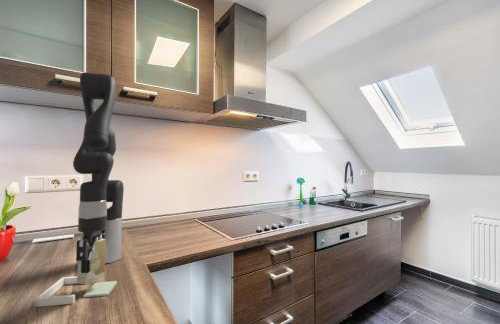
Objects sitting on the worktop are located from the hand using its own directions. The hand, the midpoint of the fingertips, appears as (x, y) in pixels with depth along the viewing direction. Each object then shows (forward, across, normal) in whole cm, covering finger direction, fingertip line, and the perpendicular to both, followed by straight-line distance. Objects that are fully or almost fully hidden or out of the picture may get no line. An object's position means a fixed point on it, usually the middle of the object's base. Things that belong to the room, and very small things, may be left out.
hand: (91, 266), depth 74 cm
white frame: (+7, 0, -7) cm, 10 cm away
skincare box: (+4, 0, 0) cm, 4 cm away
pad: (+7, 0, +3) cm, 8 cm away
